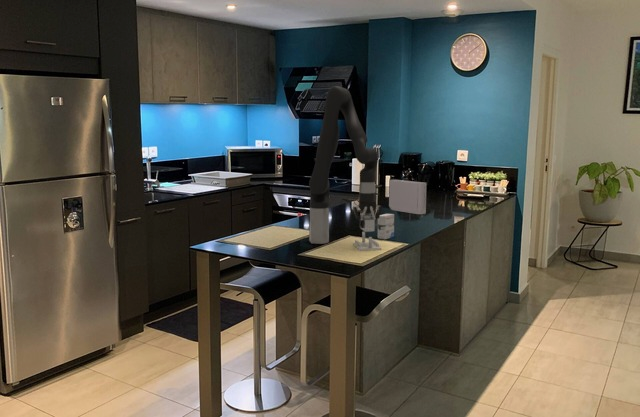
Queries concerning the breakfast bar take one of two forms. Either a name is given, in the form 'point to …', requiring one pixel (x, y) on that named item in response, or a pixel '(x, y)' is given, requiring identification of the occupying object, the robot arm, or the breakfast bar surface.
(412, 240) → the breakfast bar surface
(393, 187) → the game console
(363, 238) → the grey peg stand
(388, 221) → the ink box
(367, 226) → the drive
